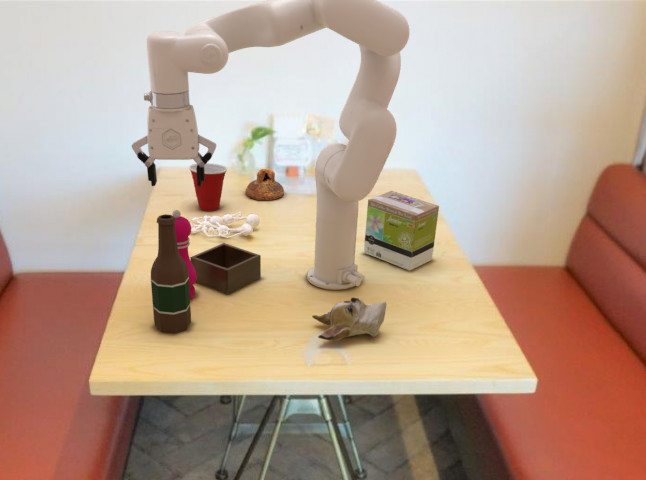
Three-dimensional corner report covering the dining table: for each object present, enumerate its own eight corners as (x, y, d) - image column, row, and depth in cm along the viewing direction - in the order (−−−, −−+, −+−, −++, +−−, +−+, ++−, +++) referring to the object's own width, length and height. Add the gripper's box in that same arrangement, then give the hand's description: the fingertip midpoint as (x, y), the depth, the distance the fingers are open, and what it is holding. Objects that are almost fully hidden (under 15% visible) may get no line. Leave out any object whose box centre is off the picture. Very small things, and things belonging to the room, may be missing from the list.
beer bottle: (175, 337, 166) (168, 226, 153) (146, 327, 169) (137, 218, 156) (198, 323, 171) (193, 215, 158) (170, 313, 175) (163, 207, 162)
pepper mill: (181, 304, 179) (176, 218, 168) (158, 295, 182) (152, 210, 171) (203, 294, 183) (200, 209, 173) (180, 285, 187) (176, 202, 176)
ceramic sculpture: (392, 306, 160) (317, 312, 159) (390, 344, 165) (318, 350, 164) (381, 284, 169) (311, 290, 168) (380, 321, 174) (312, 326, 173)
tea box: (362, 254, 205) (366, 198, 197) (386, 244, 211) (391, 189, 203) (410, 272, 197) (416, 213, 189) (433, 260, 203) (440, 203, 195)
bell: (288, 190, 246) (288, 166, 242) (278, 202, 236) (278, 178, 232) (251, 186, 248) (251, 162, 244) (240, 198, 238) (240, 174, 234)
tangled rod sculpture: (177, 241, 212) (176, 227, 210) (195, 218, 223) (193, 204, 221) (248, 247, 209) (247, 233, 206) (262, 224, 220) (261, 209, 217)
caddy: (260, 278, 191) (260, 255, 188) (228, 294, 183) (227, 270, 180) (224, 265, 197) (223, 242, 194) (191, 280, 189) (190, 257, 186)
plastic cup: (236, 206, 233) (235, 165, 226) (213, 216, 225) (211, 174, 219) (206, 198, 238) (204, 158, 231) (183, 209, 230) (180, 167, 223)
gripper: (123, 104, 156) (133, 190, 166) (212, 104, 157) (216, 190, 166) (130, 95, 163) (138, 178, 172) (215, 95, 163) (219, 178, 172)
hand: (177, 184), depth 169 cm, fingers open, 9 cm apart
